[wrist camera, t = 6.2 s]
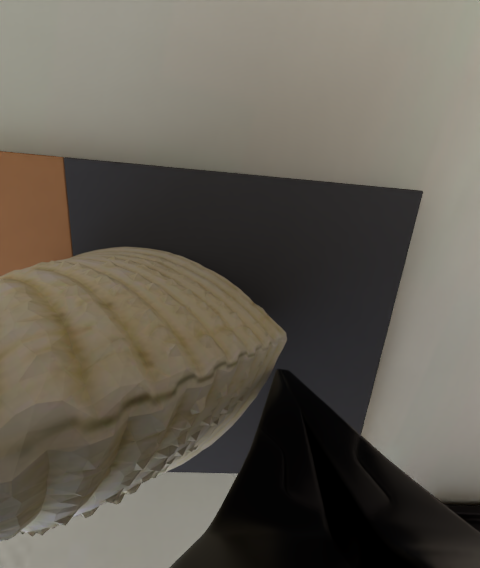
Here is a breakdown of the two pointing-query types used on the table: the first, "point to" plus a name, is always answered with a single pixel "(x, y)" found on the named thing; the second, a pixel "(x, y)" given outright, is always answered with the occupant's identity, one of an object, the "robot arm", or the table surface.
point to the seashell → (117, 377)
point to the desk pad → (235, 258)
